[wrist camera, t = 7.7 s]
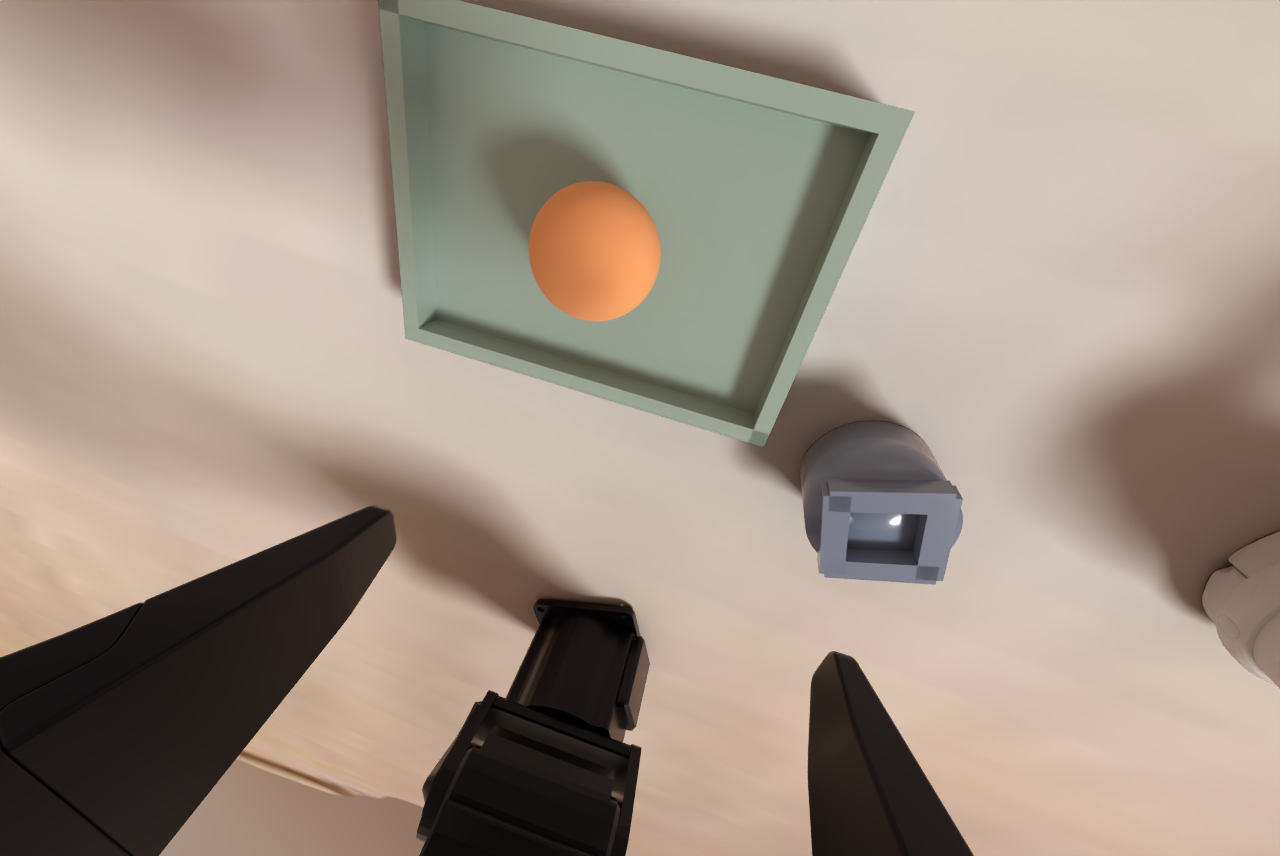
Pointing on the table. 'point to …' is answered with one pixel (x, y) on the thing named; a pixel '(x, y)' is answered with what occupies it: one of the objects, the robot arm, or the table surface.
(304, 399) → the table surface
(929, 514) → the cylinder with square socket
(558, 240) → the ball
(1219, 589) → the mug
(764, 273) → the tray
